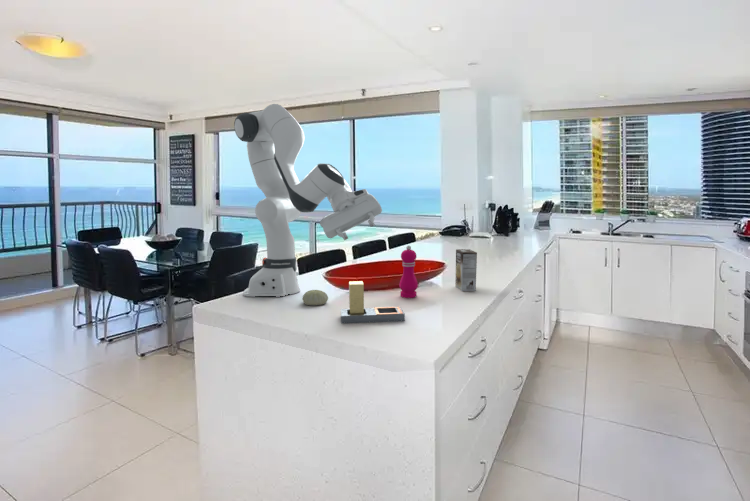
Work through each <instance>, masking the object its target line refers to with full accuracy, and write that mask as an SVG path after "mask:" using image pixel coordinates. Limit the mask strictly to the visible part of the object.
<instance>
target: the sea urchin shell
mask: <svg viewBox="0 0 750 501" xmlns="http://www.w3.org/2000/svg"><path fill="white" fill-rule="evenodd" d="M328 299H329V296H328V294H327V293H326V292H325V291H323V290H319V289H312V290H308V291H306V292H304V294H303V296H302V302H303V303H304V304H305V305H306V306H322V305H324V304H326V303H327V302H328V301H329V300H328Z"/></svg>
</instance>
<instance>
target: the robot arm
mask: <svg viewBox="0 0 750 501" xmlns="http://www.w3.org/2000/svg"><path fill="white" fill-rule="evenodd" d="M233 126H234V127H233V128H234V132H235V135H236V137H237V138H238V139H239V140H240V141H242V142H244V143H246V151H247V156H248V161H249V165H250V167H251V168H250V169H251V171H252V174H253V177H254V180H255V181H254V182H255V183H256V186H257V187H258V189H259V190H261V191H262V193H263V194H264V197H265V198H262V199H261V200H259V201H258V202H257V203H256V206H255V209H254V212H255V217H256V218H257V219H258V221H259V222H260V224H261V226H262V229H263V231H264V235H265V241H266V242H265V243H266V254H267V257H264V258H263V259H261V260H262V264H261V265H262V268H261V269H259V270H258V271H257V272H256V273H254V274H253V275H252V277H250V279H249V283H248V287H247V288H246V289H244V290H243V293H242V294H243V296H244V297H255V296H276V297H275V298H281V297H280V296H283V297H285V295H286V296H289V295H288V294H290V295H294V294H297V293H299V292H301V289H300V286H299V281H298V277H297V269H298V268H297V267H298V266H297V265H298V264H297V257H296V250H295V248H296V246H295V245H296V243H295V237H294V235H293V234H292V232H291V228H290V225H289V223H292V222H294V221H295V220H297V219H298V218H299V217H300V216H301V213H312V212H315V210H316V209H317V207H318V206H319V205H320V204H321V203H322V202H323V200H324V199H326V198H327V201H329V204H330V206H331V208H332V210H333V212H331V213H330V214H328V215H326V216H323V217H322V219H320V221H319V224H320V227H321V228H322V229H323V232H324V235H325V236H326V238H328V239H333V238H335V237H337V236H338V237H340V238H342V239H343V240H344V241H347V240H348V239H349V236H348V235H347V232H346V231H349V230H351V229H353V228H354V227H356V226H358V225H361V224H362V223H364V222H368V225H369V227H370V228H371V227H375V217H376V216H379V215H380V214H382V212H383V209H382V206H381V203H380V202H379V201H378V200H377V198H376V197H375V196H374V195H373V194H371V193H369V192H368V190H367V189H366V188H362V189H360V190H359V189H358V190H354V191H353V190H352V188H351V187H350V185H349V183H348V182H347V181H346V179H345V178H344V176H343V175H342V173H341V172H340V171H339V169H337V168H336V167H335V166H334V165H332V164H330V163H318V164H316V165H315V166H314V167H313V168H312V170H310V171H309V172H308V174H306V175H305V176H304V177H303V179H302V180H301V181H299V177H298V176H297V174H296V172H295V163H296V160H297V157H298V156H299V153H301V150H302V148H303V146H304V143H305V132H304V130H303V128H302V127H301V125H300V123H299V122H298V121H297V119H296V118H295V117H294V116H293V115H292V114H291V113H290V112H289V111H288V110H287V109H286V108H285V107H284V106H282V105H281V104H279V103H271V104H269V105H267V106H266V107H265V108H264V109H263V110H258V111H252V112H242V113H240V114H238V115H236V117H235V119H234V123H233Z"/></svg>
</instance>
